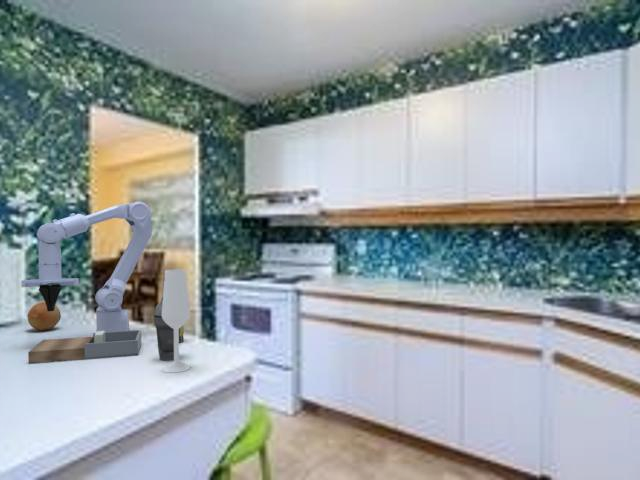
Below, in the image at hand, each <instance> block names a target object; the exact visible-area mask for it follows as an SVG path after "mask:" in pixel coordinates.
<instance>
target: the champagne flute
mask: <svg viewBox="0 0 640 480" xmlns="http://www.w3.org/2000/svg"><path fill="white" fill-rule="evenodd" d="M186 271H187V270H186V269H166V270H164V277H165V279H164V278H163V283H164V291H162V292H163V293H162V294H163V295H162V297H163V303H162V315H161V316H162V319H163V320H164V322H165V323H166V324H167V325H168V326H170V327H171V328H173V329H174V360H172V362H170V363H169V364H167V365H165V367H164V366H163V368H162V371H163V372H166V373H180V372H185V371H188V370H190V369H191V368H190V366H191V365H189V364H187V363H185V362H183V361H181V359H180V344H179V343H180V342H179V328H180V327H182V326H183V327H184V325H185V324H186V323H187V322H188V320H189V319H190V317H191V309H190V300H189V290H188V281H187V272H186Z"/></svg>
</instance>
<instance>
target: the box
mask: <svg viewBox="0 0 640 480" xmlns="http://www.w3.org/2000/svg"><path fill="white" fill-rule="evenodd" d="M96 333H97V332H93V334H92V337H93V343H87V344H85V359H84V360H92V359H93V360H95V359H106V358H108V359H109V358H116V357H117V358H119V357H121V358H122V357H132V356H139V352H140V349H141V346H142V329H138V330H136V329H135V330H130V331H118V332H105V339H106V342H101V343H94V335H95V334H96Z"/></svg>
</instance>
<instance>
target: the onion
mask: <svg viewBox="0 0 640 480" xmlns="http://www.w3.org/2000/svg"><path fill="white" fill-rule="evenodd" d="M61 314H62V313H61V310H60V308H59V307H58V306H57V304H55V310H54V311H48V310H47V306H46V303H45V300H42V301H39V302H37V303H36V304H34V305H33V306H32V307H31V308H30V310H29V311H28V313H27V316H26V317H27V321H28V322H27V323H28V324H29V325H30V327H32V328H33V329H35V330H37V331H40V332H41V331H42V332H46V331H48V330H51V329H53V328H54V327H56V326H57V325H58V323H59V322H60V320H61V317H62V315H61Z"/></svg>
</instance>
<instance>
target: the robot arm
mask: <svg viewBox="0 0 640 480" xmlns="http://www.w3.org/2000/svg"><path fill="white" fill-rule="evenodd" d="M152 216H153V213H152V212H151V210H150V208H149V206H148V205H147V203H145V202H143V201H135V202H128V203H125V204H124V203H123V204H119V205H113V206H110V207H107V208H105V209H102V210H99V211H97V212H94V213H90V214H88V215H83V214H81V213H75V212H73V213H70V214H69V216H67V217H64V218H61V219H60V218H59V219H58V218H57V219H58V220H57V219H53V220H52V222H47V223H45V224H42V225H41V226H40V227H39V228H38V229H37V232H36V236H37V239H38V240H39V242H38V278H36V279H35V278H33V279H22V280H21V281H20V283H21V288H29V287H30V288H31V287H34V288H35V287H39V288H38V291H39V293H40V295H41V296H42V298H43V301H45V303H46V306H47V310H48V311H54V310H55V305H57V304H56V303H57V300H58V297H59V295H60V292H61V291H62V288H63V287H64V286H79V284H80V283H79V280H80V278H77V277H75V278H73V277H72V278H71V277H69V278H68V277H67V278H63V277H62V274H63V273H62V248H61V240H62V238H63V239H68V238H71V237H74V236H77V235H78V234H82V233H85V232H87V231H88V229H89V227H90V226H93V225H96V224H99V223H102V222H105V221H108V220H109V221H110V220H111V219H119V220H120V219H121V220H125V221H126V222H127V224H129V225H130V228H131V231H132V232H133V235H132V237H131V239H130V240H129V242H128V244H127V246H126V248H125V250H124V251H123V254H122V255H121V257H120V259H119V260H118V263H117V265H116V266H115V269H114V270H113V272H112V274H111V276H110V277H109V279H108V280H107V281H106V282H105V284H104V285H103V286H102V287H101V288H100V289H98V290H97V291H96V294H95V297H94V299H95V303H96V304H97V305H98V307H97V308H96V309H95V310H96V312H95V313H96V314H95V315H96V316H95V317H96V332H97V331H105V332H118V331H131V330H130V329H131V328H130V315H129V314H130V311H129V309H122V308H123V307H122V304H123V300H124V297H123V296H124V294H125V292H126V285H127V283H128V281H129V279H130V277H131V275H132V273H133V271H134V269H135V268H136V266H137V264H138V262H139V260H140V258H141V256H142V254H143V252H144V251H145V249H146V247H147V245H148V243H149V241H150V239H151V237H152V235H153V229H152Z"/></svg>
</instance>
